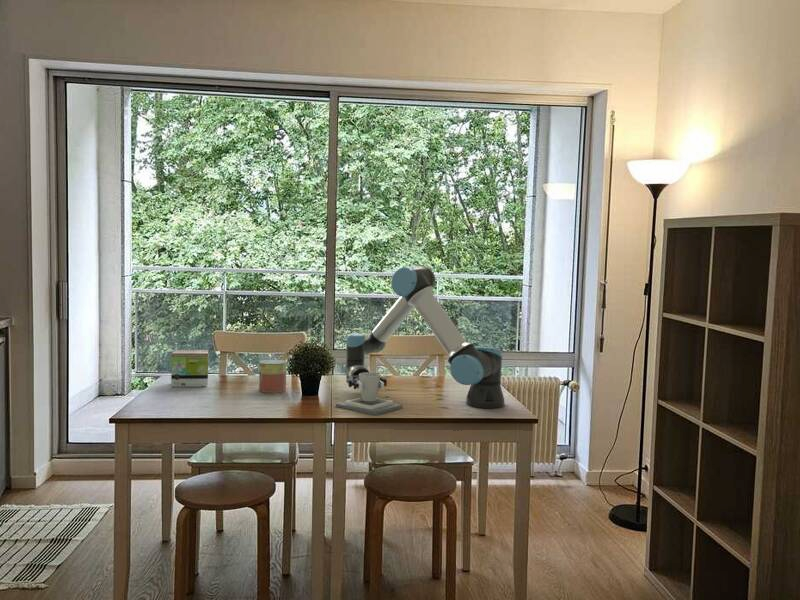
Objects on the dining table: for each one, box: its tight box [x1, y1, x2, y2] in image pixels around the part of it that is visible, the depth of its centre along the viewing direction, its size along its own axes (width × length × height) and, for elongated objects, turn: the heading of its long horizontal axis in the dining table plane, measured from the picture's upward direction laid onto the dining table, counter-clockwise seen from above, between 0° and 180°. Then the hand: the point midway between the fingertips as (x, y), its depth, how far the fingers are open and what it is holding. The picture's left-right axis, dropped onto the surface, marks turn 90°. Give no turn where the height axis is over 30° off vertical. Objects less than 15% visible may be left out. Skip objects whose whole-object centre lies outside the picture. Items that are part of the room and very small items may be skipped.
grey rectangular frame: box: [335, 396, 403, 416], centre depth 286 cm, size 20×16×2 cm
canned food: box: [258, 358, 287, 393], centre depth 312 cm, size 11×11×12 cm
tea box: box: [170, 349, 209, 388], centre depth 318 cm, size 15×10×15 cm, turn 104°
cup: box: [359, 371, 381, 402], centre depth 285 cm, size 8×8×10 cm
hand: (372, 387), depth 280 cm, fingers closed on cup, 8 cm apart
